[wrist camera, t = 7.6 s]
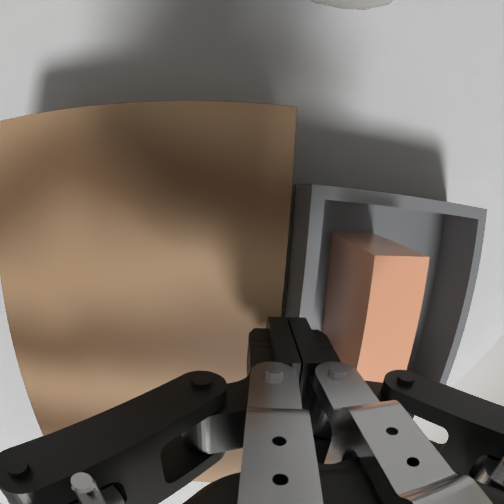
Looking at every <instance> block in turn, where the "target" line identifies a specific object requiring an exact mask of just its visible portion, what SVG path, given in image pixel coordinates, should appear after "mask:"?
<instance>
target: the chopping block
mask: <svg viewBox="0 0 504 504" xmlns="http://www.w3.org/2000/svg"><path fill="white" fill-rule="evenodd" d="M296 112H297V107H294V106H285V105H274V104H262V103H247V102H227V101H149V102H130V103H116V104H104V105H94V106H85V107H77V108H69V109H62V110H55V111H49V112H42V113H37V114H31V115H26V116H21V117H16V118H11V119H6V120H2V121H0V276H1V283H2V290H3V296H4V302H5V308H6V313H7V319H8V324H9V328H10V333H11V337H12V341H13V346H14V350H15V353H16V357H17V361H18V364H19V368H20V371H21V375H22V378H23V381H24V385H25V388H26V391H27V394H28V397H29V400H30V402H31V405H32V408H33V411H34V413H35V416H36V419H37V421H38V424H39V426H40V429H41V431H42V434H43V436H45V435H47V434H50V433H53V432H55V431H58V430H60V429H63V428H65V427H68V426H70V425H73V424H75V423H78V422H80V421H83V420H85V419H87V418H90V417H92V416H95V415H97V414H99V413H102V412H104V411H106V410H108V409H111V408H113V407H115V406H118V405H120V404H122V403H124V402H126V401H129V400H131V399H133V398H135V397H137V396H140V395H142V394H144V393H146V392H148V391H150V390H152V389H154V388H157V387H159V386H161V385H163V384H165V383H167V382H169V381H171V380H173V379H175V378H177V377H179V376H181V375H183V374H185V373H188V372H192V371H210V372H213V373H216V374H219V375H220V376H222V377H223V378H224V379H225V380H226V382H227V383H232V382H237V381H240V380H242V379H244V378H246V377H247V352H248V338H249V333H250V332H251V331H252V330H253V328H266V321H267V317H268V316H270V317H281V309H282V299H283V289H284V278H285V267H286V256H287V245H288V233H289V220H290V207H291V194H292V179H293V164H294V148H295V131H296ZM242 452H243V448H240V449H235V450H230V451H225V454H224V456H223V458H222V459H221V460H219V461H218V462H217V463H216V464H214V465H213V466H212V467H210V468H209V469H208V470H206V471H205V472H203V473H202V474H201V475H199V476H198V477H197V478H195V479H194V480H192V481H200V482H214V481H216V480H218V479H220V478H222V477H225V476H228V475H231V474H234V473H238V472H241V463H242Z"/></svg>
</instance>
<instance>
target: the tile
mask: <svg viewBox="0 0 504 504" xmlns="http://www.w3.org/2000/svg"><path fill="white" fill-rule="evenodd" d="M429 258H430V257H429V256H427V255H424V254H422V253H420V252H417V251H415V250H413V249H410V248H408V247H406V246H403V245H401V244H398V243H396V242H394V241H391V240H389V239H386V238H384V237H381V236H379V235H377V234H374V233H358V232H335V231H331V245H330V257H329V269H328V279H327V289H326V299H325V308H324V317H323V325H322V332H323V333H324V334H326V335H327V337H328V338H329V340H330V343H331V344H332V346H333V349H334V350H335V351H336V353H337V355H338V357H339V359H340V361H341V362H342V363H346V364H348V365H351V366H352V367H354V368H355V369H356V370H357V371H358V372H359V374H360V375H361V376H362V378H363V379H364V380H366V381H373V382H382V383H383V381H384V377H385V375H386V374H387V373H388V372H390V371H393V370H407V366H408V362H409V359H410V355H411V351H412V347H413V343H414V339H415V334H416V330H417V326H418V321H419V316H420V311H421V306H422V301H423V296H424V290H425V285H426V279H427V272H428V265H429Z"/></svg>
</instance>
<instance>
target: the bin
mask: <svg viewBox="0 0 504 504" xmlns="http://www.w3.org/2000/svg"><path fill="white" fill-rule="evenodd" d="M486 213H487V209H482V208H477V207H472V206H467V205H461V204H456V203H450V202H444V201H438V200H432V199H426V198H420V197H413V196H406V195H400V194H392V193H385V192H378V191H370V190H362V189H353V188H345V187H335V186H326V185H316V184H296V196H295V209H294V222H293V234H292V245H291V257H290V268H289V278H288V288H287V298H286V308H285V317H286V318H287V317H305V318H306V319H307V321H308V323H309V325H310V327H311V329H313V330H320V331H321V332H322V325H323V317H324V308H325V299H326V289H327V279H328V269H329V257H330V245H331V231H335V232H358V233H374V234H377V235H379V236H381V237H384V238H386V239H389V240H391V241H394V242H396V243H398V244H401V245H403V246H406V247H408V248H410V249H413V250H415V251H417V252H420V253H422V254H424V255H427V256H429V257H430V258H429V265H428V272H427V279H426V285H425V290H424V296H423V301H422V306H421V311H420V316H419V321H418V326H417V330H416V334H415V339H414V343H413V347H412V351H411V355H410V359H409V362H408V366H407V371H411V372H414V373H416V374H419V375H421V376H424V377H426V378H429V379H431V380H434V381H437V382H439V383H442V384H444V385H446V382H447V380H448V377H449V374H450V371H451V369H452V366H453V363H454V360H455V357H456V354H457V351H458V348H459V344H460V341H461V338H462V335H463V331H464V328H465V324H466V320H467V317H468V313H469V309H470V305H471V301H472V297H473V292H474V288H475V283H476V278H477V273H478V268H479V263H480V257H481V251H482V244H483V238H484V230H485V222H486Z"/></svg>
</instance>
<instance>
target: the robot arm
mask: <svg viewBox="0 0 504 504" xmlns="http://www.w3.org/2000/svg"><path fill="white" fill-rule="evenodd" d="M414 415H416V416H418V417H421V418H423V419H425V420H427V421H430V422H432V423H435V424H437V425H439V426H441V427H443V428H445V429H446V430H447V432H448V435H449V437H448V440H447V442H446V443H444V444H438V443H436V442H433V441H431V440H429V439H428V438H427V437H426V435H425V434H424V433H423V432H422V430H421V429H420V428H419V427H418V425H417V424H416V423H415V421H414V420H413V417H414ZM240 448H243V452H242V463H241V472H238V473H234V474H231V475H228V476H225V477H222V478H220V479H218V480H216V481H214V482H212V483H210V484H209V485H207V486H205V487H204V488H202V489H201V490H200V491H198V492H197V493H196V494H195V495H193V496H192V497H191V498H190V499H188V500H187V501H186V502H184V503H183V504H504V407H503V406H501V405H498V404H495V403H492V402H489V401H487V400H484V399H481V398H479V397H476V396H473V395H470V394H468V393H465V392H462V391H460V390H457V389H454V388H452V387H449V386H447V385H444V384H442V383H439V382H437V381H434V380H431V379H429V378H426V377H424V376H421V375H419V374H416V373H414V372H411V371H407V370H393V371H390V372H388V373H387V374H386V375H385V377H384V381H383V383H382V382H373V381H366V380H364V379H363V378H362V376H361V375H360V374H359V372H358V371H357V370H356V369H355V368H354V367H352V366H351V365H348V364H346V363H342V362H341V361H340V359H339V357H338V355H337V353H336V351H335V350H334V349H333V346H332V344H331V343H330V340H329V338H328V337H327V335H326V334H324V333H323V332H321V331H320V330H313V329H311V327H310V325H309V323H308V321H307V319H306V318H305V317H287V318H286V317H270V316H268V317H267V321H266V328H253V330H252V331H251V332H250V333H249V338H248V352H247V377H246V378H244V379H242V380H240V381H237V382H232V383H227V382H226V380H225V379H224V378H223V377H222V376H220V375H219V374H216V373H213V372H210V371H192V372H188V373H185V374H183V375H181V376H179V377H177V378H175V379H173V380H171V381H169V382H167V383H165V384H163V385H161V386H159V387H157V388H154V389H152V390H150V391H148V392H146V393H144V394H142V395H140V396H137V397H135V398H133V399H131V400H129V401H126V402H124V403H122V404H120V405H118V406H115V407H113V408H111V409H108V410H106V411H104V412H102V413H99V414H97V415H95V416H92V417H90V418H87V419H85V420H83V421H80V422H78V423H75V424H73V425H70V426H68V427H65V428H63V429H60V430H58V431H55V432H53V433H50V434H47V435H45V436H42V437H39V438H37V439H34V440H31V441H29V442H26V443H23V444H20V445H17V446H14V447H11V448H9V449H6V450H4V451H2V452H1V453H0V490H1V491H2V492H3V494H4V495H5V496H6V498H7V500H8V502H9V504H158V503H160V502H161V501H163V500H164V499H166V498H168V497H169V496H171V495H172V494H174V493H175V492H177V491H178V490H179V489H181V488H182V487H184V486H185V485H187V484H188V483H190V482H191V481H192V480H194V479H195V478H197V477H198V476H199V475H201V474H202V473H203V472H205V471H206V470H208V469H209V468H210V467H212V466H213V465H214V464H216V463H217V462H218V461H219V460H221V459H222V458H223V456H224V454H225V451H230V450H235V449H240Z"/></svg>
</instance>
